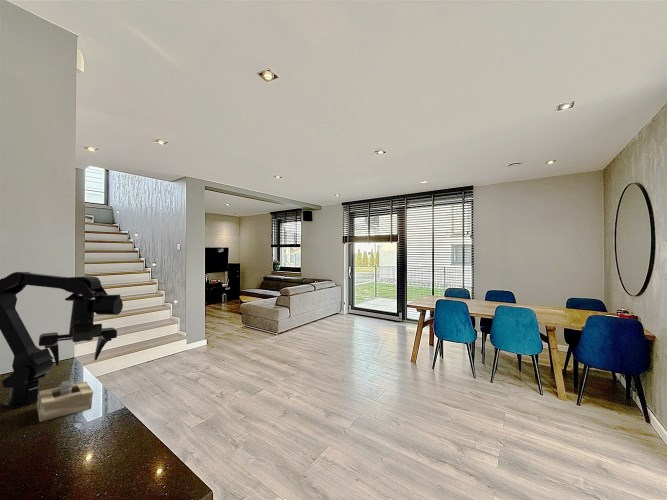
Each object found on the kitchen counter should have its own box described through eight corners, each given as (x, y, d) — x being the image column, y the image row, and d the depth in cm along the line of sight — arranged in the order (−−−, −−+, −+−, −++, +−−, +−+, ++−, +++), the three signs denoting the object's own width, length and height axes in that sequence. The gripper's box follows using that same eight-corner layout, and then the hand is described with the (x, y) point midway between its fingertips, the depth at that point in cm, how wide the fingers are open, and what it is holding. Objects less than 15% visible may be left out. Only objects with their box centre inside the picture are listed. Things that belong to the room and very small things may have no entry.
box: (36, 408, 85) (38, 391, 85) (84, 397, 93) (86, 381, 93) (39, 421, 77) (42, 403, 78) (91, 408, 86) (93, 391, 86)
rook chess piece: (62, 412, 83) (65, 384, 83) (49, 411, 83) (52, 383, 84) (77, 405, 87) (80, 379, 88) (65, 404, 88) (68, 378, 88)
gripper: (43, 320, 80) (35, 376, 79) (122, 315, 94) (117, 363, 92) (42, 315, 88) (35, 366, 86) (116, 311, 101) (111, 355, 100)
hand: (77, 362), depth 91 cm, fingers open, 9 cm apart
